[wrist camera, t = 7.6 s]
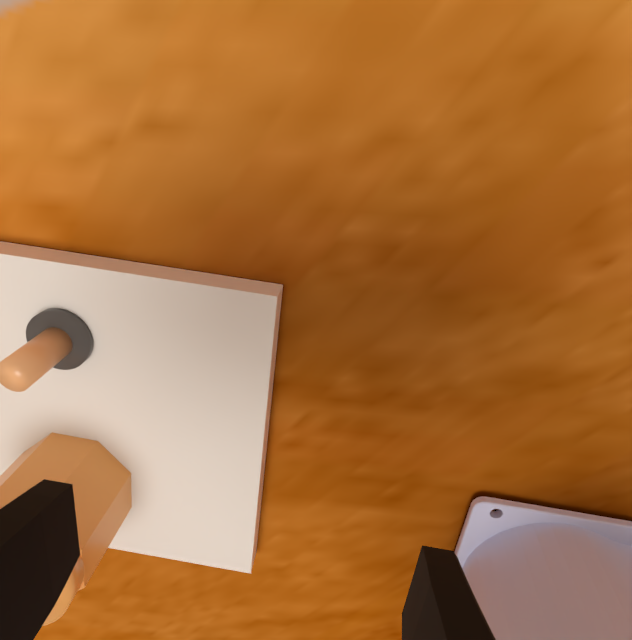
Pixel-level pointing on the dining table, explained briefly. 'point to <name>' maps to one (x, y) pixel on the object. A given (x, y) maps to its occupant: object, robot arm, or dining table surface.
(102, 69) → the dining table surface
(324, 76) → the dining table surface
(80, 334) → the junction plate
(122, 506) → the acorn nut
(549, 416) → the dining table surface
